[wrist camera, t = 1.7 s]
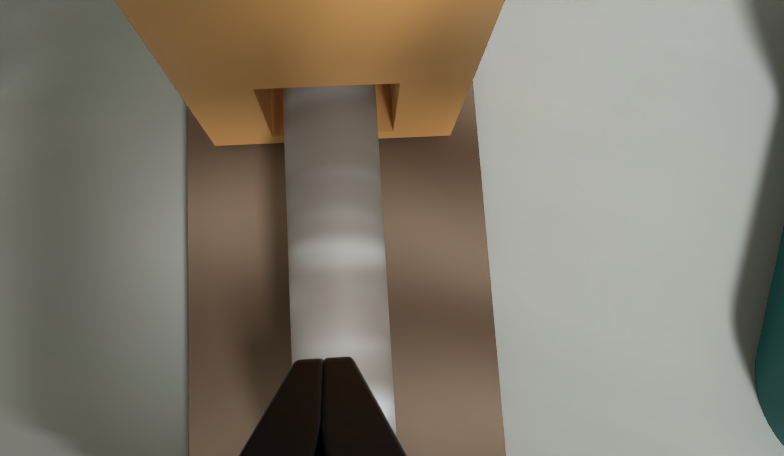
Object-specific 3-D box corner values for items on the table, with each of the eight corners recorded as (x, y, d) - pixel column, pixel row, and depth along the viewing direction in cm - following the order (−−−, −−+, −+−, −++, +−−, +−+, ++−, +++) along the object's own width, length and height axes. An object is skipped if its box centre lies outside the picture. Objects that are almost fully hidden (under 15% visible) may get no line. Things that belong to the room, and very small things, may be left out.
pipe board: (503, 496, 22) (559, 550, 16) (197, 519, 22) (130, 585, 15) (447, -147, 27) (474, -301, 20) (192, -142, 26) (139, -298, 20)
